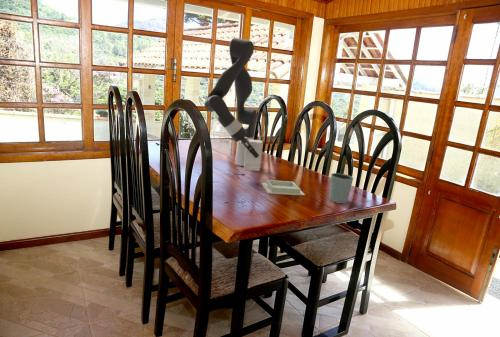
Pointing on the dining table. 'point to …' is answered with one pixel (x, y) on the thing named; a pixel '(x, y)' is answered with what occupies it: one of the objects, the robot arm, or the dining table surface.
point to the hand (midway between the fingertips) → (256, 155)
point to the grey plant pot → (340, 187)
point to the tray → (282, 187)
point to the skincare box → (250, 160)
